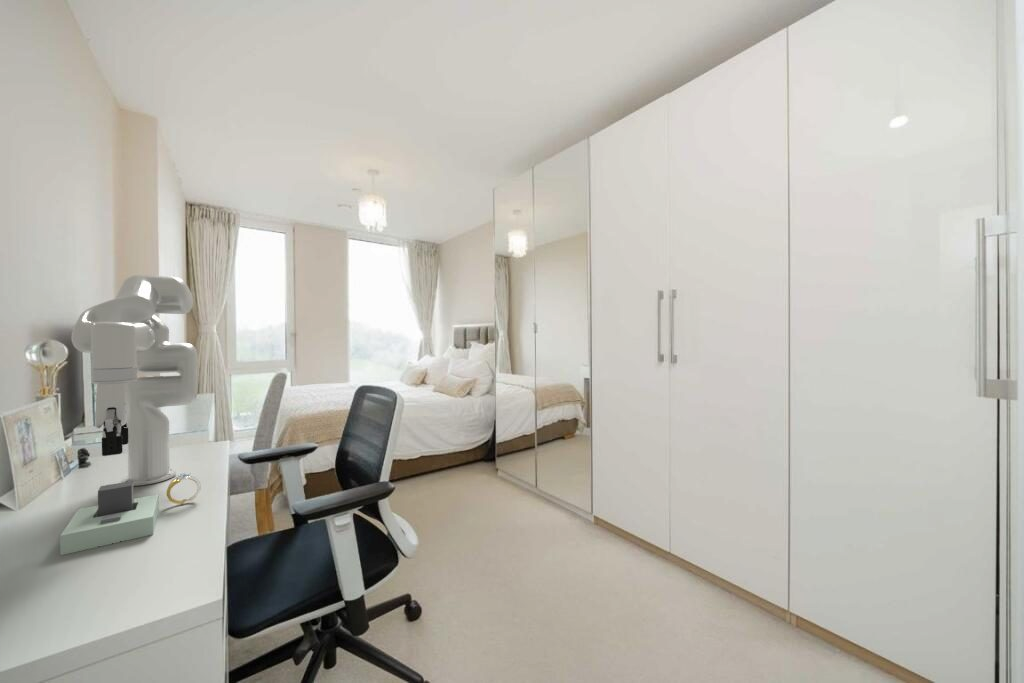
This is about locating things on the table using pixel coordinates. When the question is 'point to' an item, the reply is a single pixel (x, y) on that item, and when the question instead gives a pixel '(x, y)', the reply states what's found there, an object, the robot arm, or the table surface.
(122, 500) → the plug
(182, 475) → the ring
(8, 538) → the table surface
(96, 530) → the socket
